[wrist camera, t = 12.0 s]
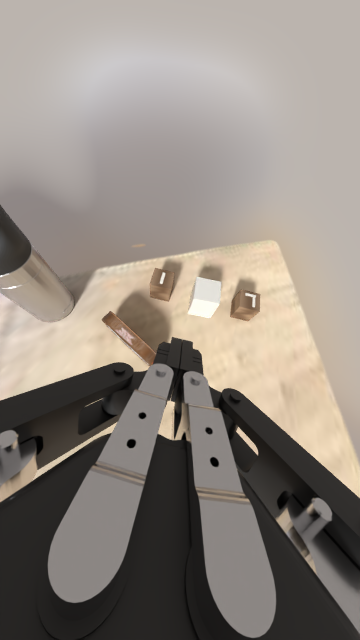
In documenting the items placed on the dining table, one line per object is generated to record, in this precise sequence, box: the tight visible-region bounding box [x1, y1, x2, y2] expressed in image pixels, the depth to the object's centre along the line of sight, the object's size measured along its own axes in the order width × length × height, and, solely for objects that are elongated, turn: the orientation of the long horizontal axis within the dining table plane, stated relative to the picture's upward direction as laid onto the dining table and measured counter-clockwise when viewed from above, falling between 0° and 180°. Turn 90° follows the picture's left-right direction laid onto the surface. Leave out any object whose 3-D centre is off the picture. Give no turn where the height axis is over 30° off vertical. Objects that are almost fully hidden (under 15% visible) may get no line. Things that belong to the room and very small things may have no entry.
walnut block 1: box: [150, 268, 175, 302], centre depth 47 cm, size 5×5×6 cm
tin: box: [102, 311, 156, 366], centre depth 39 cm, size 15×3×8 cm, turn 48°
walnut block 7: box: [230, 290, 260, 321], centre depth 48 cm, size 5×5×6 cm
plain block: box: [188, 277, 221, 318], centre depth 46 cm, size 6×6×8 cm
